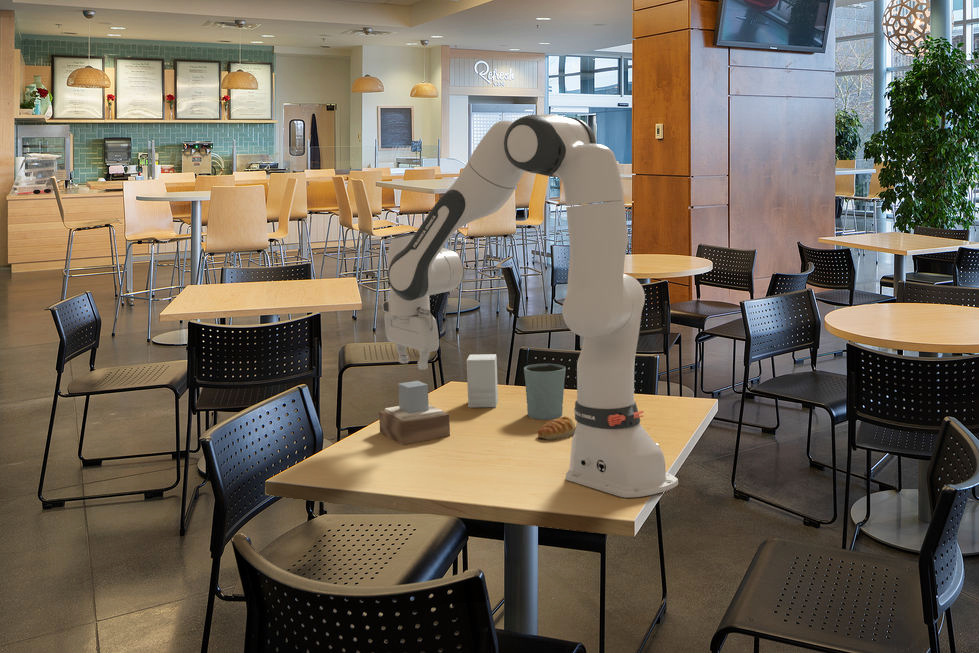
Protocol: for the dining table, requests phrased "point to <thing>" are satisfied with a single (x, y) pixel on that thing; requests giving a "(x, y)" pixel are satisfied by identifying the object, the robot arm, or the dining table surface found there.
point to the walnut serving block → (414, 424)
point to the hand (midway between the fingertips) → (413, 366)
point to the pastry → (557, 428)
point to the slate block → (413, 397)
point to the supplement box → (482, 380)
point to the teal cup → (544, 390)
